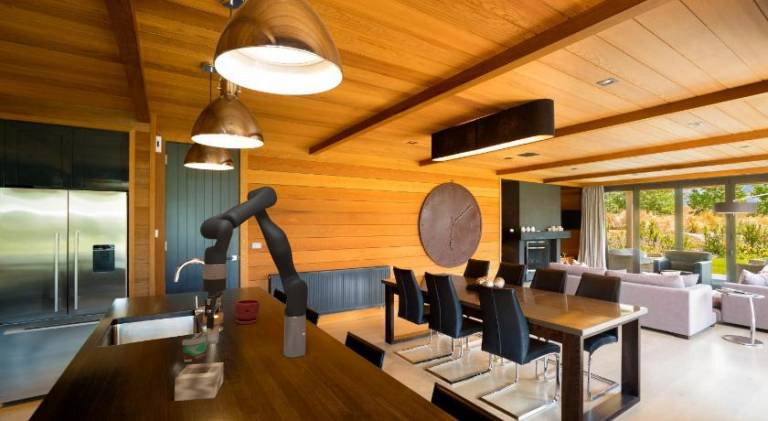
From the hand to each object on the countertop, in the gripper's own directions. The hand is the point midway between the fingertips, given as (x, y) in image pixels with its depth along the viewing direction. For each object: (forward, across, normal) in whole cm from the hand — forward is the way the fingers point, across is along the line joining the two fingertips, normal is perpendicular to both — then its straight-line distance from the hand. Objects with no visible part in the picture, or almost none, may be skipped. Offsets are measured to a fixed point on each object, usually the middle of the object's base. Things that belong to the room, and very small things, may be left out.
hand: (212, 325), depth 125 cm
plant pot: (+22, +86, +1) cm, 89 cm away
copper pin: (+6, 0, 0) cm, 6 cm away
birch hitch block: (+22, 0, +3) cm, 23 cm away
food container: (+22, +31, +12) cm, 40 cm away
